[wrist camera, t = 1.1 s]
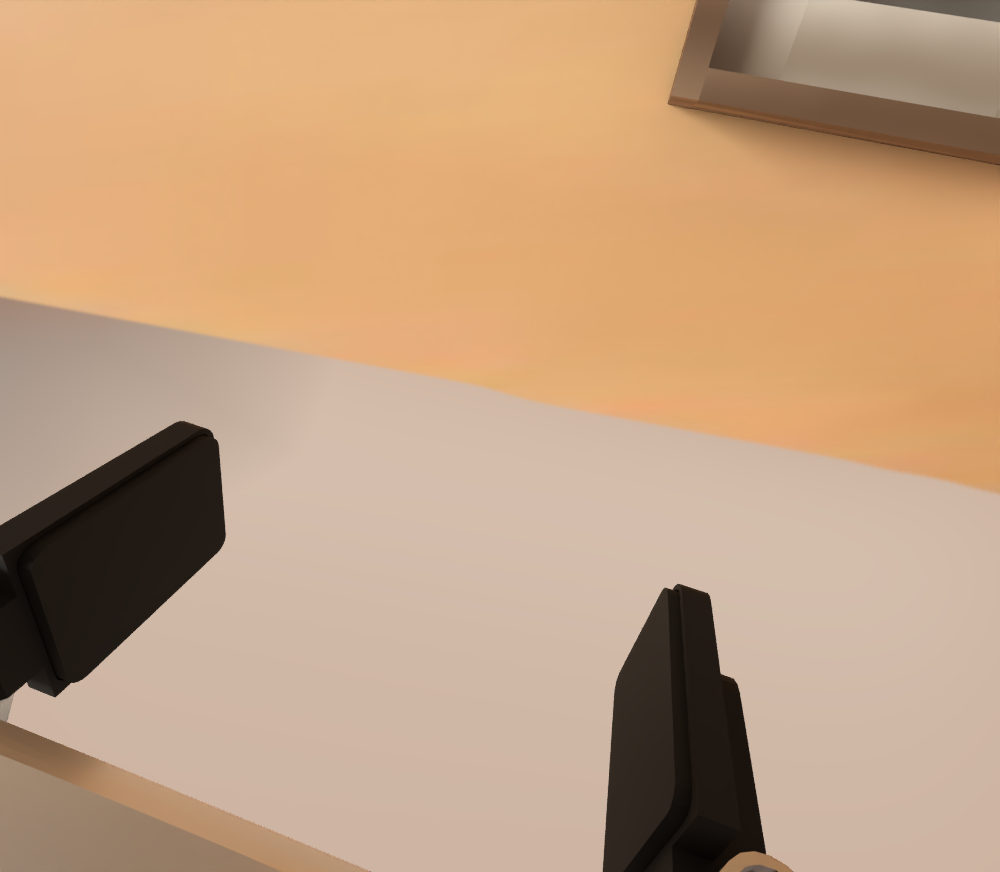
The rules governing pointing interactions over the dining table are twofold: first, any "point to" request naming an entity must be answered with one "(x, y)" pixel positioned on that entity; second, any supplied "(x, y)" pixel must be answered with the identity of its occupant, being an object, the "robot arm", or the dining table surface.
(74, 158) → the dining table surface
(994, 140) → the bore box
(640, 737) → the robot arm
